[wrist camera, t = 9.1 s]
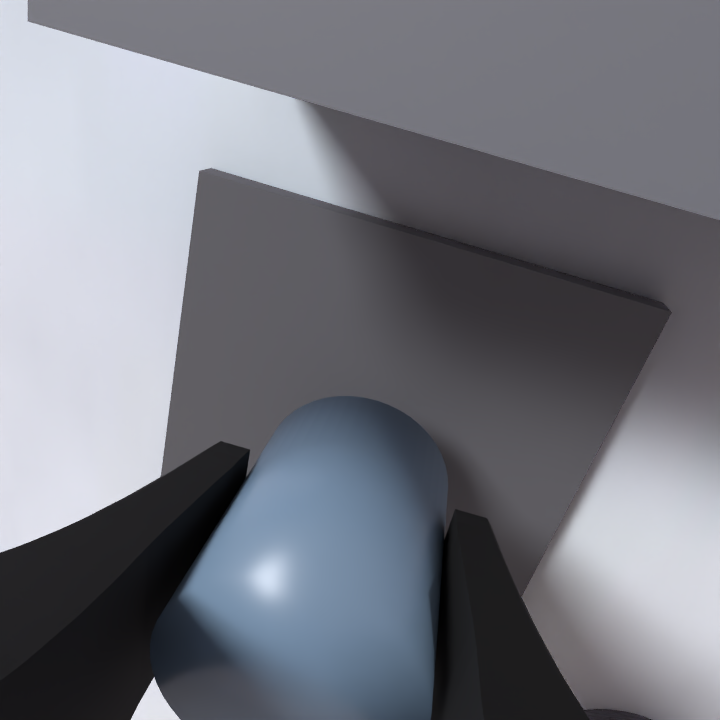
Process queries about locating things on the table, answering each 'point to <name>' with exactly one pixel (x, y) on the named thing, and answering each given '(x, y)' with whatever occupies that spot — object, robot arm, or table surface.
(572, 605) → the table surface
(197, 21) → the block
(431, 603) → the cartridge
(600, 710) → the cap
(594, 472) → the table surface
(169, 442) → the mat
